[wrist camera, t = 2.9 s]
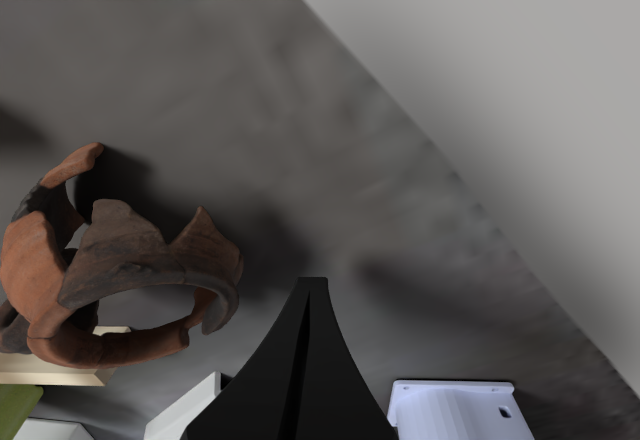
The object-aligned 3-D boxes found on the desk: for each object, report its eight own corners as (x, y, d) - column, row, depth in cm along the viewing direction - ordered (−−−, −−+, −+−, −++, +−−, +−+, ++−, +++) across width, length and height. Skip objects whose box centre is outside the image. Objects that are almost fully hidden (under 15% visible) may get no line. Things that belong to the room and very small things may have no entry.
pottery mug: (123, 82, 12) (116, 214, 7) (254, 195, 19) (294, 296, 14) (-66, 237, 13) (-186, 440, 8) (126, 286, 21) (124, 407, 16)
